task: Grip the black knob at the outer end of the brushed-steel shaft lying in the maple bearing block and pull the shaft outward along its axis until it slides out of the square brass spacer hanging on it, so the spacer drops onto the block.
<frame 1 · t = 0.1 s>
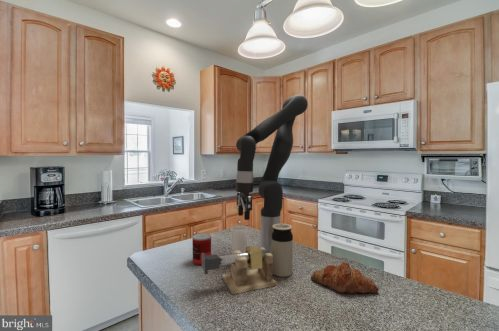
hand: (243, 217, 112), 17 cm above the countertop, fingers open, 8 cm apart
bearing block: (244, 282, 89), on the countertop
travel mug: (282, 273, 97), on the countertop
canned food: (202, 262, 107), on the countertop
spacer: (253, 257, 90), point 8 cm above the countertop, touching shaft
pastry: (342, 286, 87), on the countertop
shaft: (236, 258, 88), point 9 cm above the countertop, slide at 0.0 cm, touching spacer
drinking glass: (239, 264, 104), on the countertop
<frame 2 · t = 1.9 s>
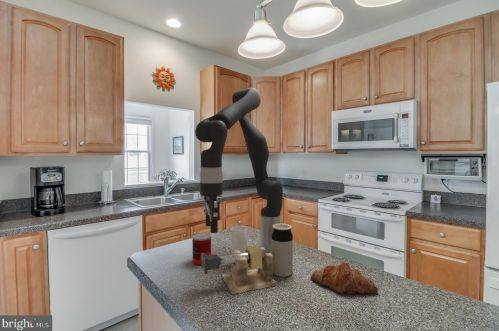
hand: (211, 229, 85), 20 cm above the countertop, fingers open, 8 cm apart
nothing on the countertop moved.
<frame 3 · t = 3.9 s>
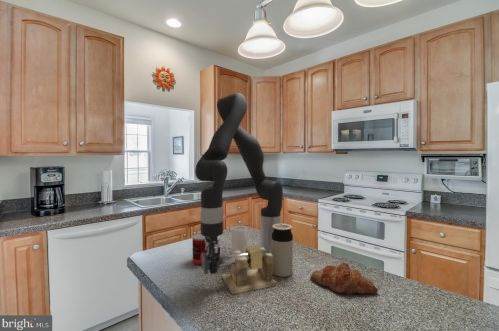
hand: (212, 270, 85), 6 cm above the countertop, fingers closed on shaft, 3 cm apart
shaft: (236, 258, 88), point 9 cm above the countertop, slide at 0.0 cm, touching gripper, spacer
everything else where it was.
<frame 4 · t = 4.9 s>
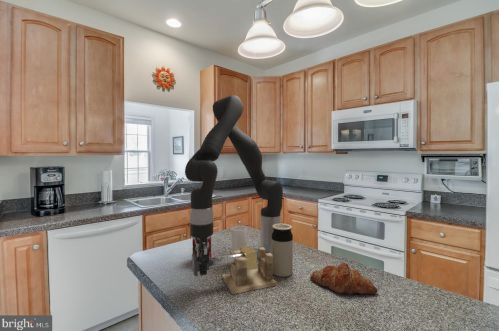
hand: (202, 271, 84), 6 cm above the countertop, fingers closed on shaft, 3 cm apart
spacer: (248, 257, 89), point 9 cm above the countertop, touching shaft
shaft: (227, 259, 87), point 9 cm above the countertop, slide at 3.3 cm, touching gripper, spacer
everything else where it was.
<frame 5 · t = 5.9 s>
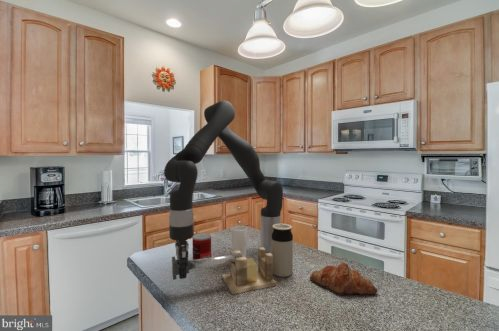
hand: (182, 274, 81), 6 cm above the countertop, fingers closed on shaft, 3 cm apart
spacer: (248, 269, 90), point 4 cm above the countertop, touching bearing block
shaft: (208, 262, 84), point 9 cm above the countertop, slide at 9.8 cm, touching gripper
everything else where it was.
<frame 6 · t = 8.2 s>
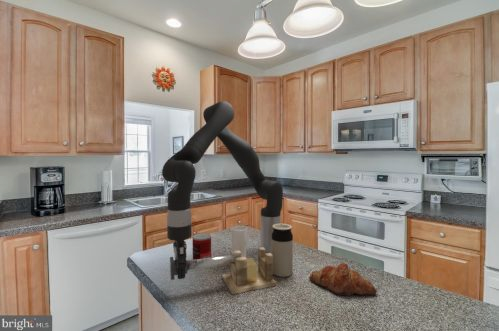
hand: (180, 272, 81), 7 cm above the countertop, fingers open, 8 cm apart
shaft: (206, 262, 84), point 9 cm above the countertop, slide at 10.4 cm
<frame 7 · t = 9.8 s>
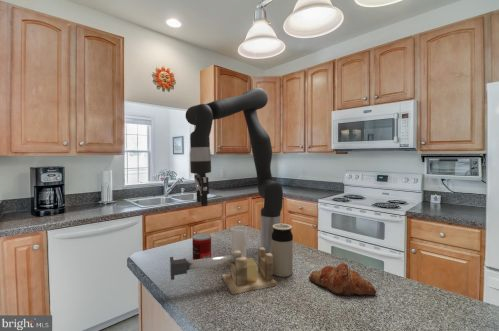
hand: (201, 203, 93), 27 cm above the countertop, fingers open, 8 cm apart
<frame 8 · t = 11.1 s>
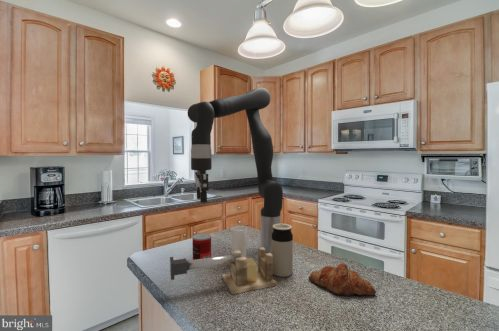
hand: (201, 200, 94), 28 cm above the countertop, fingers open, 8 cm apart
at the end: spacer point 4.2 cm above the countertop; shaft slide at 10.4 cm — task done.
